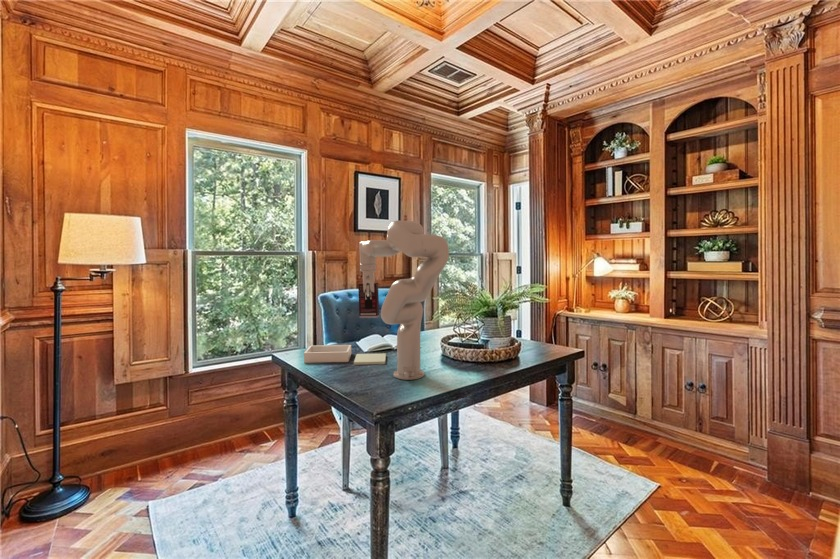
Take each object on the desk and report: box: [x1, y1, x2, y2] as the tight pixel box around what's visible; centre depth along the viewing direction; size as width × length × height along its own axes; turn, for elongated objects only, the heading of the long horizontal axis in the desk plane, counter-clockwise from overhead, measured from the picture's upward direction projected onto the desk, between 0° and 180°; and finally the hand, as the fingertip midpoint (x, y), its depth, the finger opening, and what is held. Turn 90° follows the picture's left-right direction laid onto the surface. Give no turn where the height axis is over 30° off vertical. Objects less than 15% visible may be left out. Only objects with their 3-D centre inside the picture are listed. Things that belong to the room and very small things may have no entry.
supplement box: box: [358, 282, 380, 319], centre depth 188 cm, size 9×5×16 cm, turn 85°
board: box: [353, 352, 387, 366], centre depth 190 cm, size 14×14×1 cm
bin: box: [303, 344, 352, 364], centre depth 193 cm, size 14×20×4 cm
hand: (369, 306), depth 188 cm, fingers closed on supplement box, 5 cm apart
